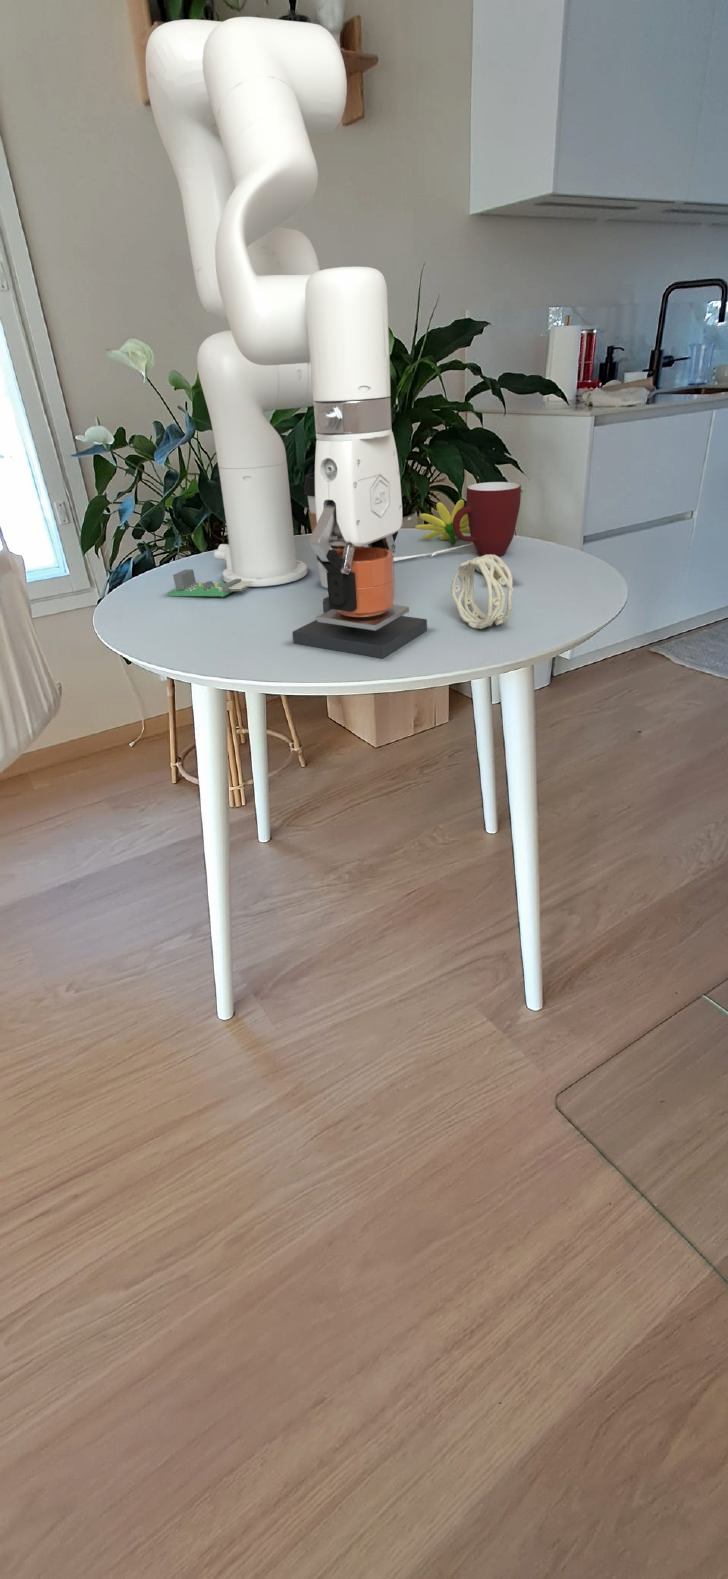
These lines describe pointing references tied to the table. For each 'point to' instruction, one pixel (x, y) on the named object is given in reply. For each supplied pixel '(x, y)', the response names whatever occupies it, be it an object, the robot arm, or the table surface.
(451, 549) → the silver knife
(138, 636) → the table surface
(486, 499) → the mug
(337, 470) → the robot arm
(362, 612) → the orange cup
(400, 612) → the weighing plate
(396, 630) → the scale
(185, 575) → the circuit board
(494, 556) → the bracelet
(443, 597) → the table surface
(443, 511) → the flower
